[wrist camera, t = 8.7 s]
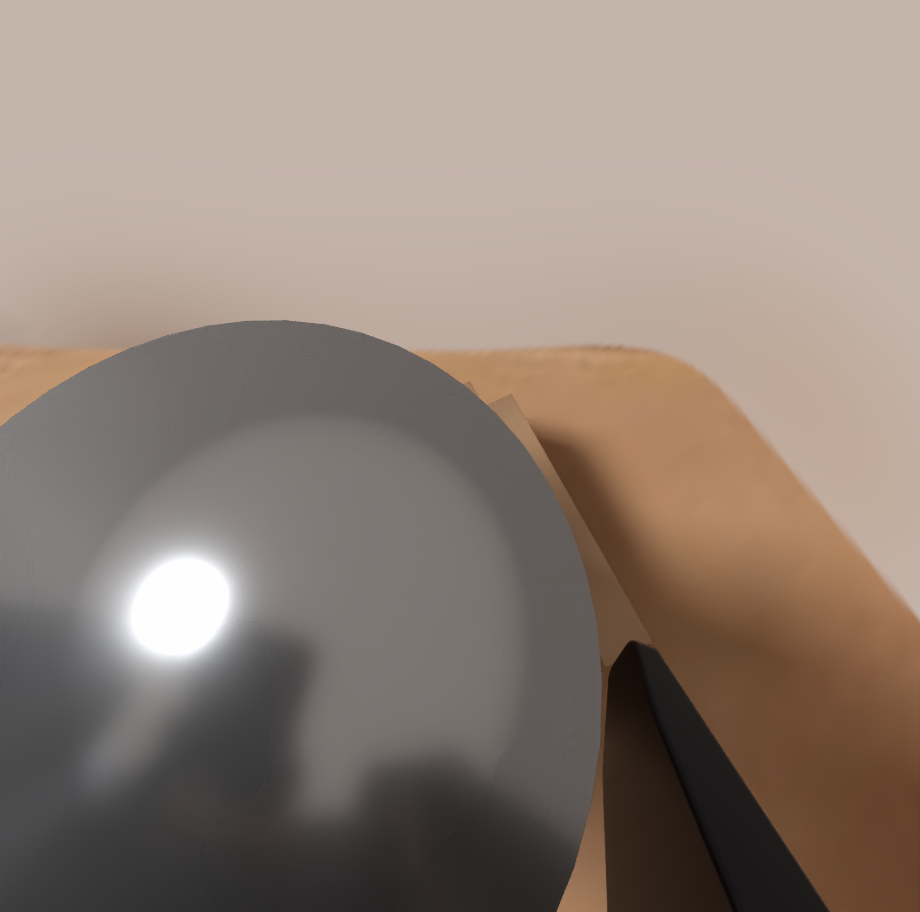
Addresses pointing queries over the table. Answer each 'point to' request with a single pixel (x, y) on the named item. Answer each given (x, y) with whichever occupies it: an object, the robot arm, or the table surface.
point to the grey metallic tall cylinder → (286, 638)
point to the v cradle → (581, 547)
